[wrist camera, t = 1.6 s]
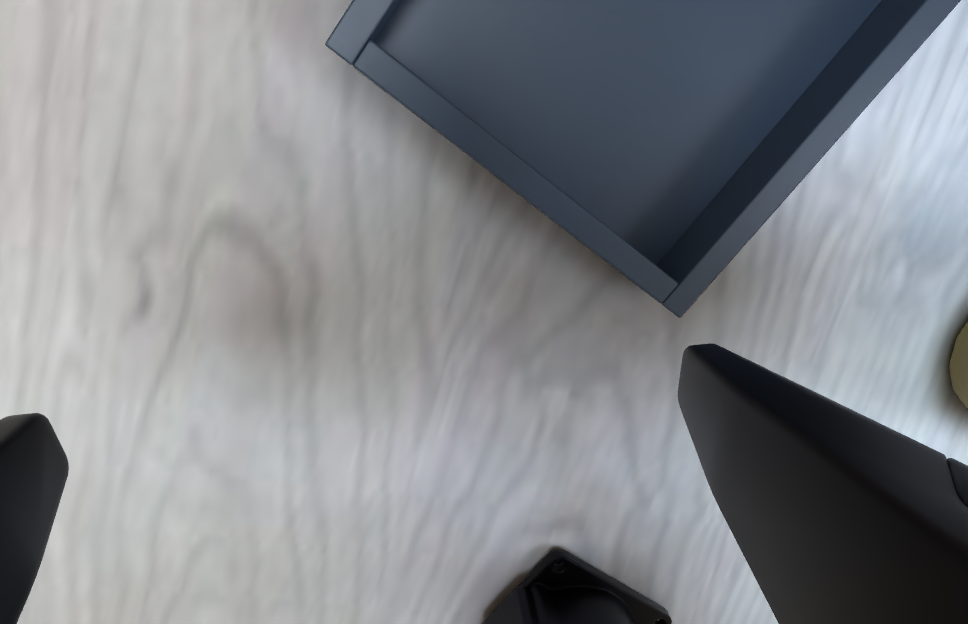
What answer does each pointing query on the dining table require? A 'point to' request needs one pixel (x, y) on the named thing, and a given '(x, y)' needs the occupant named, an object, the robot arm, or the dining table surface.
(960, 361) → the squeeze bottle
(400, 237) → the dining table surface
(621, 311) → the dining table surface
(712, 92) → the tray
